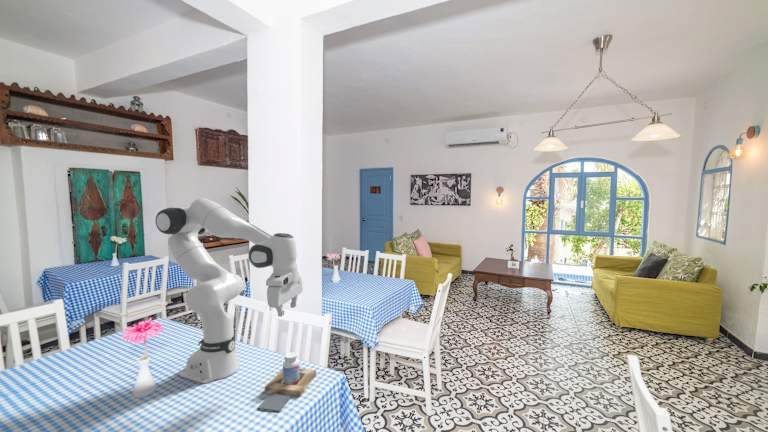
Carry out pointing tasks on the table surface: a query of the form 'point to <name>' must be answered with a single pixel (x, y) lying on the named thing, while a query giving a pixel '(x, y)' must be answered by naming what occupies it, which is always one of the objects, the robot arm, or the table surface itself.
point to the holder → (287, 389)
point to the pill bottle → (291, 369)
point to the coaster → (274, 402)
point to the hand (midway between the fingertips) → (287, 311)
